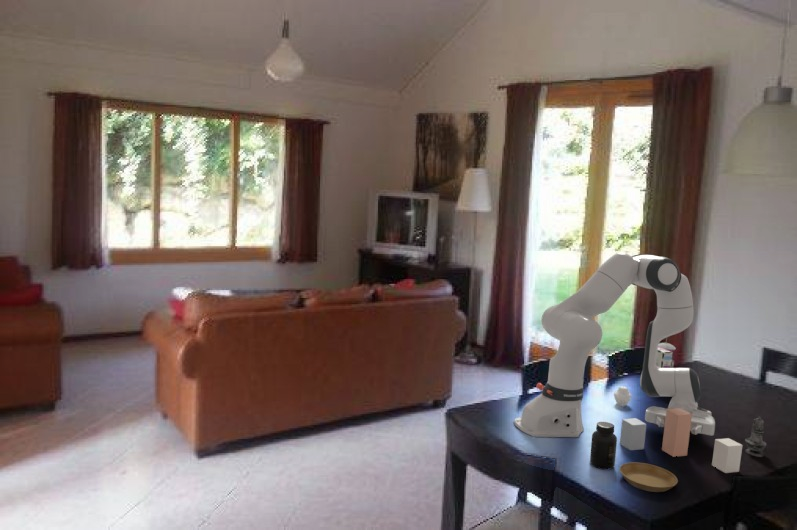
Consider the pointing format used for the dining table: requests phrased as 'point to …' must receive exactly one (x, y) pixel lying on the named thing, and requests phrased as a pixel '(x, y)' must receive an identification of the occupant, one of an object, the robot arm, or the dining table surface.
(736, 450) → the off-white block
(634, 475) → the plant saucer
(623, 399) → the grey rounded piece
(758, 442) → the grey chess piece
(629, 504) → the dining table surface
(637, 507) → the dining table surface
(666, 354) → the candy bar box
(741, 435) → the dining table surface
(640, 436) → the grey-blue block
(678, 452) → the coral block
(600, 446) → the supplement bottle
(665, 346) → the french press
